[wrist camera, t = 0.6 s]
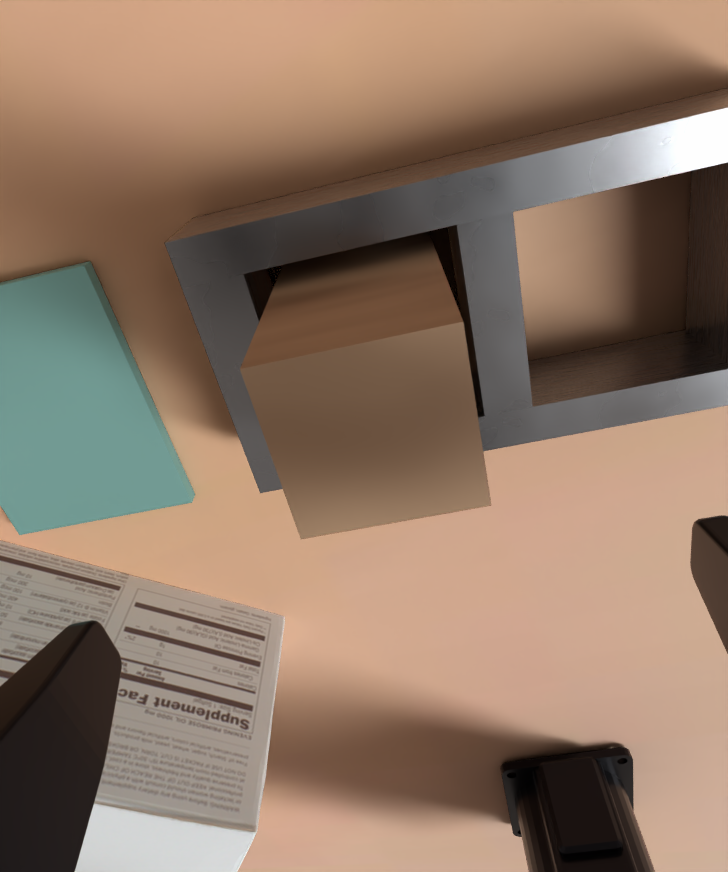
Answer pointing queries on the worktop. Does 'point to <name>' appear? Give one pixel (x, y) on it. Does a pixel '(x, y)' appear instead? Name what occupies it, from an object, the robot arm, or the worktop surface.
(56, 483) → the mat
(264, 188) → the worktop surface
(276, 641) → the supplement box
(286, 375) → the peg
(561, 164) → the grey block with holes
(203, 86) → the worktop surface
